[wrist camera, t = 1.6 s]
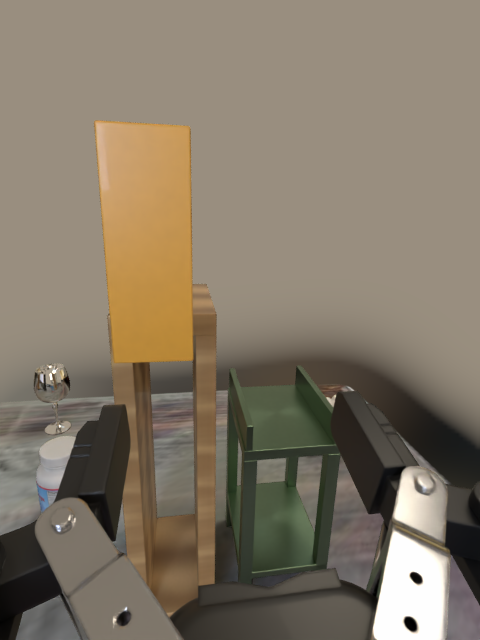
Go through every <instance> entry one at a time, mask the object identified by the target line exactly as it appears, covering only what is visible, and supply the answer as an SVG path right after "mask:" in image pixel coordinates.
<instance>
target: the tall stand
mask: <svg viewBox="0 0 480 640" xmlns="http://www.w3.org/2000/svg"><path fill="white" fill-rule="evenodd" d="M192 286H193V421H194V495H195V514H190V515H180V516H170V517H160V518H157V504H156V484H155V464H154V444H153V424H152V404H151V386H150V365H149V362H141V363H114V362H113V350H112V338H111V326H110V313H109V314H108V316H107V319H108V330H109V337H110V338H109V342H110V354H111V365H112V377H113V389H114V402H115V405H119V404H125V405H126V409H127V416H128V423H129V430H130V441H131V442H130V454H129V461H128V467H127V473H126V479H125V485H124V491H123V497H122V499H123V511H124V523H125V535H126V547H127V557H128V558H129V559H130V561H131V562H132V563H133V565H134V566H135V568H136V569H137V571H138V572H139V574H140V575H141V577H142V578H143V580H144V581H145V583H146V584H147V586H148V587H149V588H150V590H151V591H152V593H153V594H154V596H155V597H156V599H157V600H158V602H159V603H160V605H161V606H162V608H163V609H164V611H165V612H166V614H167V615H168V616H169V618H170V616H171V615H172V614H173V613H174V612H176V611H177V610H178V609H179V608H180V607H182V606H183V605H185V604H186V603H188V602H189V601H191V600H193V599H195V598H198V586H201V585H208V584H215V470H216V312H215V308H214V305H213V302H212V300H211V296H210V293H209V290H208V287H207V284H192Z"/></svg>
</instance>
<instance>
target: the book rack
mask: <svg viewBox="0 0 480 640" xmlns="http://www.w3.org/2000/svg"><path fill="white" fill-rule="evenodd" d="M229 376H230V377H229V388H228V416H227V476H226V525H227V527H230V526H232V531H233V538H234V544H235V550H236V557H237V563H238V582H240V583H246V584H252V578H259V577H266V576H274V575H282V574H290V573H297V572H305V571H316V570H324V569H327V560H328V552H329V544H330V536H331V528H332V519H333V511H334V503H335V495H336V487H337V478H338V470H339V462H340V452H339V449H338V447H337V445H336V443H335V441H334V439H333V436H332V433H331V427H330V422H331V416H332V412H333V406H332V405H331V404H330V403H329V401H328V400H327V399H326V397H325V396H324V395H323V393H322V392H321V391H320V389H319V388H318V387H317V386H316V384H315V383H314V382H313V380H312V379H311V378H310V377H309V375H308V374H307V373H306V371H305V370H304V369H303V367H302V366H297V368H296V381H295V385H282V386H261V387H240V384H239V381H238V378H237V375H236V372H235V369H230V375H229ZM238 438H239V443H240V447H241V451H242V468H241V485H239V486H237V462H238ZM314 455H323V459H322V469H321V478H320V487H319V497H318V506H317V516H316V525H315V533H314V530H313V528H312V525H311V523H310V520H309V518H308V516H307V513H306V511H305V508H304V506H303V503H302V501H301V498H300V496H299V494H298V491H297V489H296V478H297V466H298V457H302V456H314ZM276 458H286V471H285V481H283V482H272V483H261V484H256V477H257V460H264V459H276Z"/></svg>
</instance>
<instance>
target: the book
mask: <svg viewBox="0 0 480 640" xmlns="http://www.w3.org/2000/svg"><path fill="white" fill-rule="evenodd" d="M94 127H95V140H96V152H97V164H98V177H99V190H100V202H101V214H102V227H103V239H104V252H105V264H106V276H107V289H108V301H109V313H110V326H111V338H112V350H113V362H114V363H141V362H168V361H192V360H193V286H192V213H191V211H192V209H191V139H190V138H191V136H190V135H191V131H190V127H189V126H179V125H164V124H147V123H131V122H115V121H98V120H96V121H94Z"/></svg>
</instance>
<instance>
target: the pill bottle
mask: <svg viewBox="0 0 480 640" xmlns="http://www.w3.org/2000/svg"><path fill="white" fill-rule="evenodd" d="M75 439H76V437H73V436H61V437H57V438H54V439H51V440H49V441H48V442H46V443H45V444H44V445H43V446H42V447H41V448H40V450H39V456H40V462H41V464H40V465H39V467H38V469H37V472H36V482H37V488H38V495H39V501H40V507H41V513H42V512H43V511H44V510H45V509H46V508H47V507H49V506H50V505H51V504H53V502H54V500H55V498H56V495H57V492H58V489H59V486H60V483H61V480H62V477H63V474H64V471H65V468H66V466H67V463H68V460H69V459H70V454H71V451H72V448H73V445H74V442H75Z"/></svg>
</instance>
